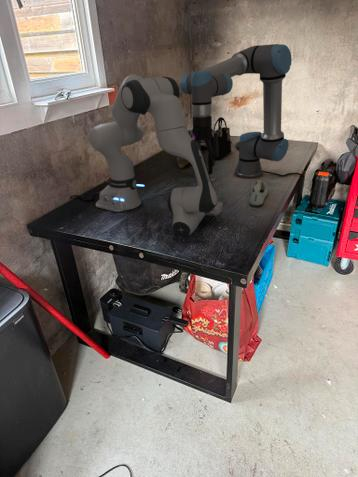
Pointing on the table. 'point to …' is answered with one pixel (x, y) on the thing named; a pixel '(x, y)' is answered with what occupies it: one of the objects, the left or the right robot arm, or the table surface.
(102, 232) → the table surface
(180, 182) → the table surface
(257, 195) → the ballet flat
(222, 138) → the handbag
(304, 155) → the table surface
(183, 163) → the boot
